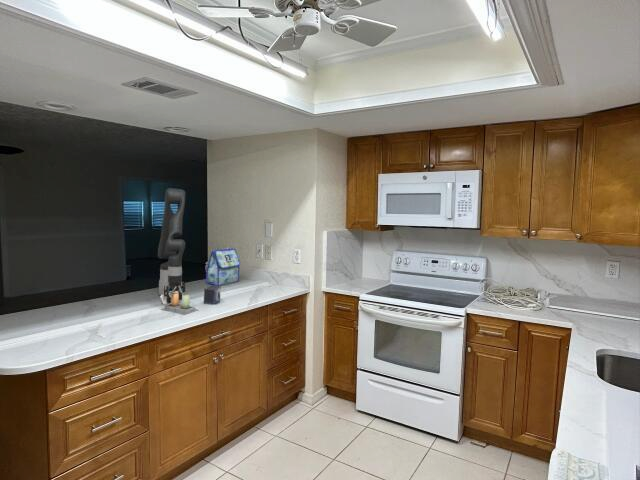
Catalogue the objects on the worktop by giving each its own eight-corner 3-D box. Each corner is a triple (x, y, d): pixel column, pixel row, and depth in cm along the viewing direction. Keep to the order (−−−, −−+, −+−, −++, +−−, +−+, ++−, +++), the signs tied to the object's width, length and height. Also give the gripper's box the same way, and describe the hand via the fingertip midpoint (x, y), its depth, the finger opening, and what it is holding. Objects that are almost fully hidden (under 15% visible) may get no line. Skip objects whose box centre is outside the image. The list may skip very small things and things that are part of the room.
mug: (183, 303, 247) (183, 290, 246) (172, 306, 238) (172, 293, 237) (167, 300, 251) (167, 287, 250) (155, 304, 242) (156, 291, 241)
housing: (160, 311, 228) (160, 306, 227) (175, 306, 239) (175, 301, 238) (184, 316, 220) (184, 311, 220) (199, 311, 231) (199, 306, 231)
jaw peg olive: (180, 311, 227) (180, 295, 226) (185, 309, 230) (185, 294, 229) (185, 312, 225) (186, 296, 224) (190, 310, 229) (191, 295, 228)
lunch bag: (219, 287, 293) (220, 251, 290) (204, 283, 302) (205, 249, 299) (241, 282, 311) (242, 249, 309) (226, 279, 320) (227, 246, 318)
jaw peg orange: (169, 308, 230) (169, 293, 229) (174, 307, 234) (174, 292, 233) (174, 309, 229) (175, 294, 228) (179, 308, 232) (180, 293, 231)
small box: (213, 306, 243) (213, 289, 242) (203, 305, 244) (203, 288, 243) (220, 302, 253) (221, 286, 252) (211, 301, 254) (211, 285, 253)
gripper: (179, 271, 237) (178, 298, 239) (160, 275, 224) (160, 303, 226) (188, 272, 234) (188, 300, 236) (170, 276, 221) (170, 305, 223)
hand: (174, 301), depth 231 cm, fingers open, 8 cm apart
